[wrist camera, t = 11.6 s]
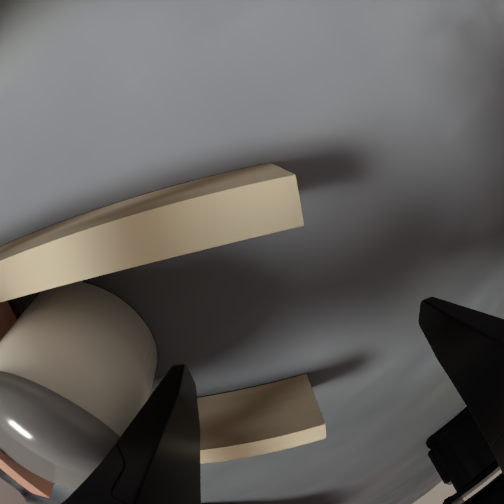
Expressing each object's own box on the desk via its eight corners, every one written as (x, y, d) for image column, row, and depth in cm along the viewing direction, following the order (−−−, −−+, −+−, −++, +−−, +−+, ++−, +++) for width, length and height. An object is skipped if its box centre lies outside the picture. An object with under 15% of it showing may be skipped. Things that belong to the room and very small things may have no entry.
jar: (187, 351, 11) (179, 478, 6) (111, 407, 12) (89, 503, 7) (68, 250, 9) (-23, 348, 4) (16, 333, 10) (-40, 418, 5)
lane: (270, 162, 9) (356, 206, 4) (308, 389, 13) (347, 495, 8) (-84, 288, 8) (-136, 340, 3) (-3, 416, 12) (-30, 477, 7)
